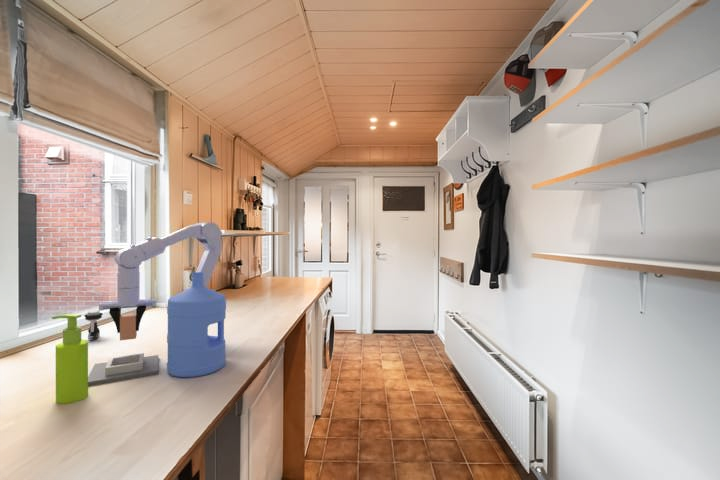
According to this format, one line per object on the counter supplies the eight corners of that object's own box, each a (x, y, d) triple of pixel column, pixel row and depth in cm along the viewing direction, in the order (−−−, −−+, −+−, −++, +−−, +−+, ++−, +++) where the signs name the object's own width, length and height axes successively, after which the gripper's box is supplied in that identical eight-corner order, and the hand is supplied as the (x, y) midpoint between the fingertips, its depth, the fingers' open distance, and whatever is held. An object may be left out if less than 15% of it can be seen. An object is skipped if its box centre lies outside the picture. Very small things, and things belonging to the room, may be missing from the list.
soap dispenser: (64, 392, 84) (63, 311, 83) (93, 391, 84) (93, 311, 84) (44, 404, 78) (43, 317, 78) (76, 403, 78) (76, 317, 78)
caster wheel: (98, 340, 123) (98, 313, 123) (80, 342, 121) (80, 314, 121) (104, 335, 130) (104, 309, 129) (87, 337, 127) (87, 310, 127)
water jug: (164, 382, 90) (164, 277, 90) (169, 362, 104) (169, 271, 104) (227, 373, 97) (228, 274, 96) (223, 355, 111) (224, 269, 110)
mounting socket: (158, 358, 107) (158, 348, 107) (157, 374, 95) (157, 363, 95) (94, 367, 99) (94, 357, 99) (85, 386, 87) (85, 374, 87)
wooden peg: (136, 335, 108) (136, 313, 108) (135, 338, 105) (135, 316, 105) (121, 336, 107) (121, 314, 106) (119, 340, 103) (119, 317, 103)
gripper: (156, 284, 112) (156, 325, 113) (101, 287, 105) (101, 330, 106) (155, 287, 106) (155, 330, 107) (97, 290, 99) (97, 336, 99)
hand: (128, 331), depth 106 cm, fingers closed on wooden peg, 4 cm apart
